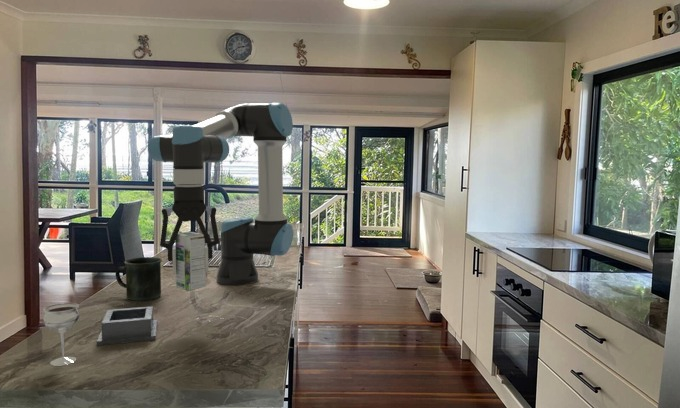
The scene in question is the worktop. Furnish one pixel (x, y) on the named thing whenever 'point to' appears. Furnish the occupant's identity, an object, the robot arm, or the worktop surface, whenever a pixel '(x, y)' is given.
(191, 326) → the worktop surface
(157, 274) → the mug
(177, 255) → the syrup box
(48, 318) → the wineglass
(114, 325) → the socket block
